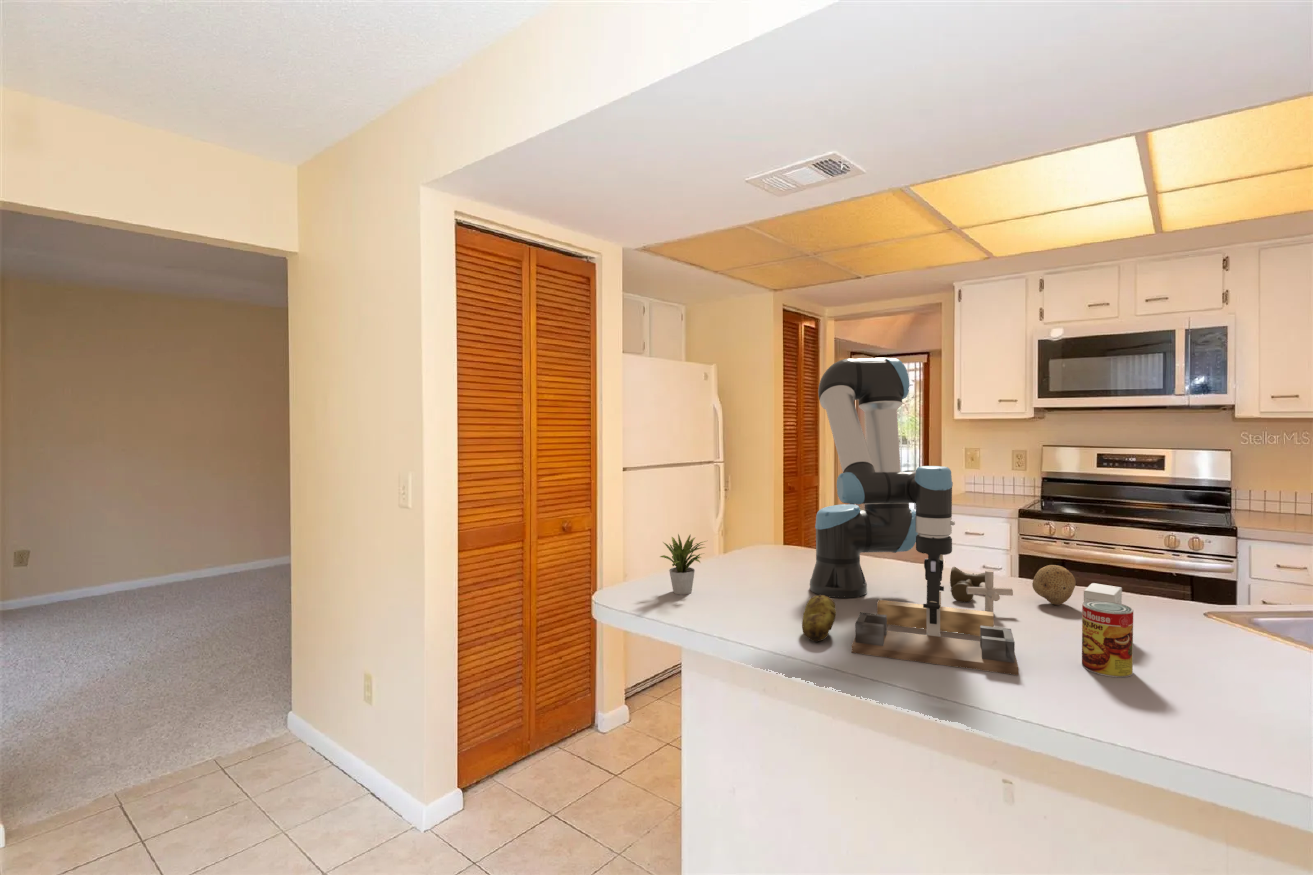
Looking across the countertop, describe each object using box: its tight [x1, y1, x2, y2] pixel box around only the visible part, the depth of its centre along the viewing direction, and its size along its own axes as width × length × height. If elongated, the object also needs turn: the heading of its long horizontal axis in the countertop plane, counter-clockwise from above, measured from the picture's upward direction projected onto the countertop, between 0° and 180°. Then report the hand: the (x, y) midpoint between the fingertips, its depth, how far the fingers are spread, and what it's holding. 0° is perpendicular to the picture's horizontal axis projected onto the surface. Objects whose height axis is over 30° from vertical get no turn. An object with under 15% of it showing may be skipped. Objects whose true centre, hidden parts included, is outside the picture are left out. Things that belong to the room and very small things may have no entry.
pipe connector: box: [966, 569, 1014, 613], centre depth 155 cm, size 10×10×10 cm
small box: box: [1083, 582, 1123, 604], centre depth 138 cm, size 8×6×10 cm
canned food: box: [1081, 600, 1134, 678], centre depth 121 cm, size 8×8×12 cm
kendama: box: [949, 566, 985, 603], centre depth 172 cm, size 6×10×20 cm
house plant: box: [659, 533, 707, 596], centre depth 176 cm, size 14×14×16 cm
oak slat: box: [876, 599, 995, 637], centre depth 145 cm, size 24×3×5 cm, turn 64°
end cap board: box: [851, 612, 1020, 676], centre depth 130 cm, size 30×12×6 cm, turn 65°
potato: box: [801, 594, 837, 643], centre depth 142 cm, size 8×13×8 cm, turn 140°
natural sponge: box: [1031, 564, 1076, 606], centre depth 160 cm, size 9×9×10 cm
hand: (934, 628), depth 145 cm, fingers open, 13 cm apart
